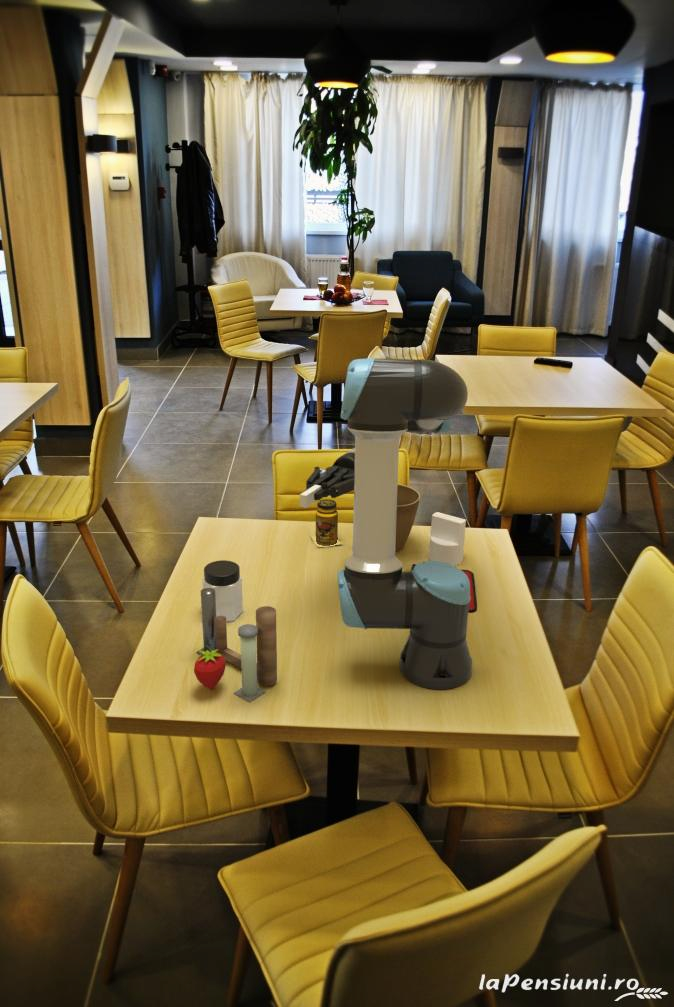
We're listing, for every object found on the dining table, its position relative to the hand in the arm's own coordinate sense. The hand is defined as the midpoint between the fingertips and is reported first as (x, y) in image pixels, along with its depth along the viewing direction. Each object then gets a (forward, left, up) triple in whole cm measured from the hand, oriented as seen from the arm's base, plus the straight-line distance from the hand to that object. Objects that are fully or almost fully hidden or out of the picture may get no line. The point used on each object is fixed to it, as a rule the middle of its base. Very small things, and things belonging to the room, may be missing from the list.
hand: (303, 501), depth 179 cm
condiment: (+27, -39, -32) cm, 58 cm away
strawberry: (-1, +29, -32) cm, 43 cm away
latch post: (-8, +24, -32) cm, 41 cm away
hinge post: (+9, +20, -32) cm, 39 cm away
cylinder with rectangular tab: (-4, -52, -32) cm, 62 cm away
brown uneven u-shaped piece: (-1, +20, -31) cm, 37 cm away
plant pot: (+11, -47, -32) cm, 58 cm away
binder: (-13, -37, -33) cm, 51 cm away
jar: (+19, +7, -32) cm, 38 cm away
